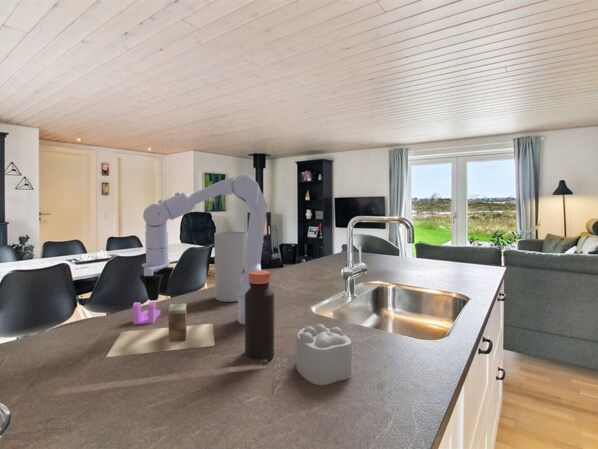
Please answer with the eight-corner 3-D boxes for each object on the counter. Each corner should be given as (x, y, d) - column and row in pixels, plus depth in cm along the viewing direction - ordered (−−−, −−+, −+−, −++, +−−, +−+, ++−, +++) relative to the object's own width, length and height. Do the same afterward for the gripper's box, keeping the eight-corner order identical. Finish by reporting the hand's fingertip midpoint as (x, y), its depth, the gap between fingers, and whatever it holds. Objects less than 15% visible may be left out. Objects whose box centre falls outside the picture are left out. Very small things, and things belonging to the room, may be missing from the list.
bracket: (153, 326, 99) (153, 303, 99) (133, 328, 98) (132, 304, 98) (162, 313, 112) (161, 292, 112) (143, 314, 111) (143, 293, 111)
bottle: (250, 366, 75) (250, 276, 74) (241, 354, 81) (240, 271, 80) (278, 359, 78) (278, 273, 77) (267, 348, 84) (267, 268, 83)
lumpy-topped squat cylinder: (314, 388, 66) (314, 344, 66) (287, 360, 78) (287, 323, 77) (358, 376, 71) (358, 335, 70) (326, 352, 82) (326, 317, 82)
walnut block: (186, 332, 92) (186, 303, 92) (185, 340, 86) (185, 309, 86) (171, 333, 91) (170, 304, 91) (168, 342, 85) (168, 311, 85)
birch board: (212, 327, 99) (212, 323, 99) (214, 349, 84) (214, 345, 84) (121, 335, 92) (121, 331, 92) (105, 361, 77) (105, 357, 77)
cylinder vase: (209, 297, 130) (208, 232, 129) (237, 292, 139) (236, 231, 137) (225, 304, 121) (225, 235, 120) (254, 298, 130) (254, 233, 128)
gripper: (151, 245, 101) (153, 290, 102) (131, 251, 87) (132, 304, 87) (176, 244, 101) (177, 289, 102) (159, 251, 87) (160, 303, 88)
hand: (158, 296), depth 95 cm, fingers open, 7 cm apart
